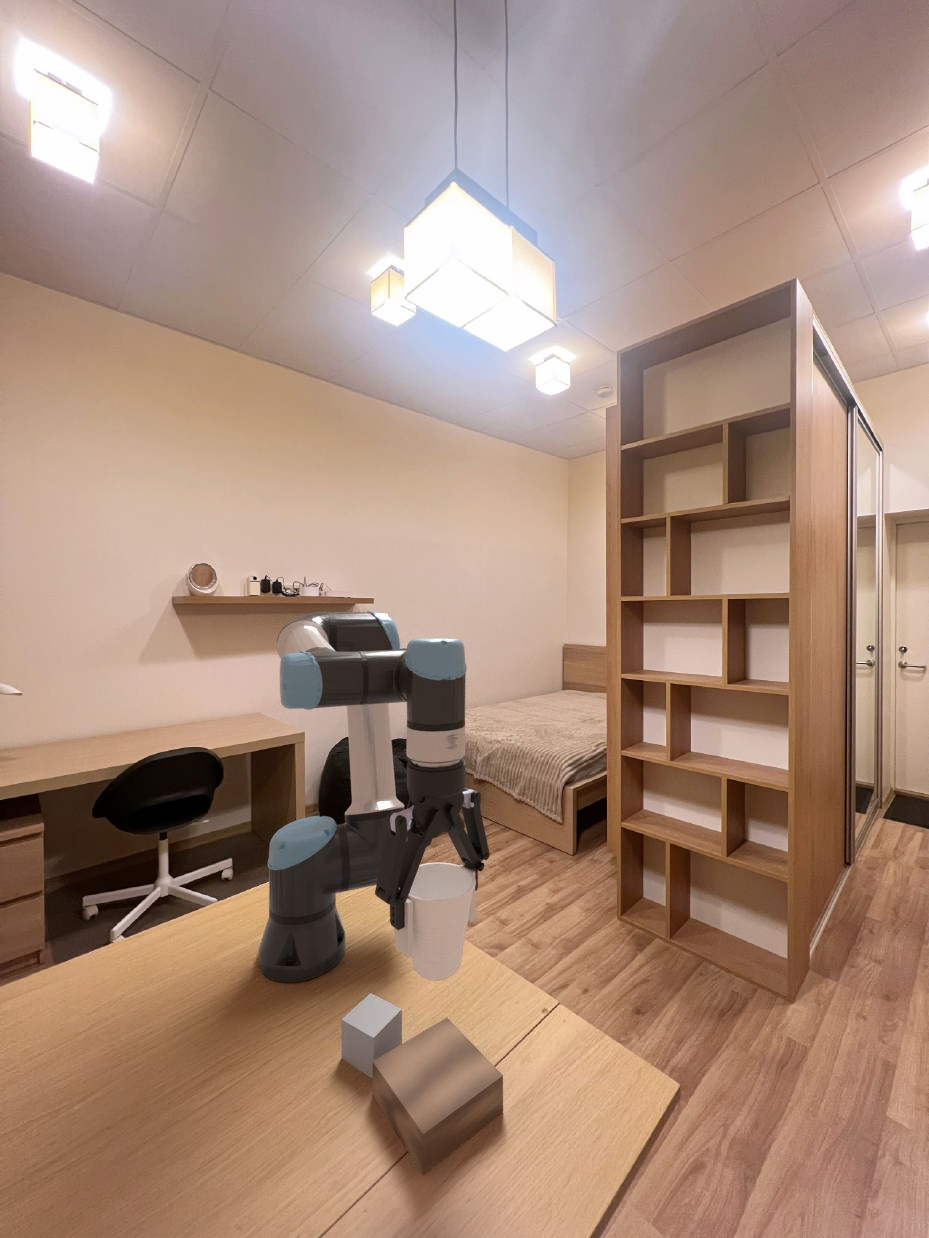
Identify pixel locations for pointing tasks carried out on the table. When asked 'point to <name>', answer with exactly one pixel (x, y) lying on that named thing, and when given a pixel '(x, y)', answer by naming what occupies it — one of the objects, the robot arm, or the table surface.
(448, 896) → the cup
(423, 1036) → the walnut block
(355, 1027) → the grey cube
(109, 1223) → the table surface
